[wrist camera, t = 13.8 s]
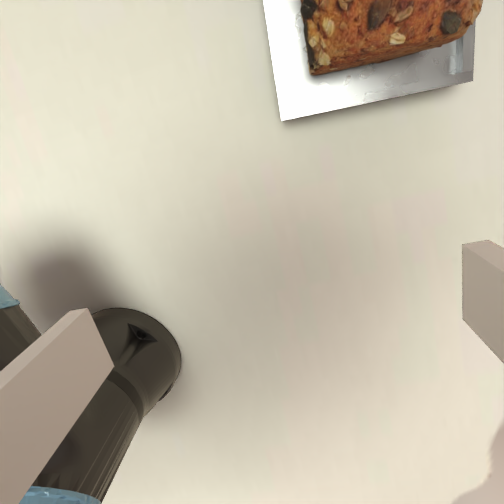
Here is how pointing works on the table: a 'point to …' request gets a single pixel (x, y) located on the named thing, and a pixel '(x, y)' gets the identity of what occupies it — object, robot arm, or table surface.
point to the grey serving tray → (354, 69)
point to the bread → (379, 29)
